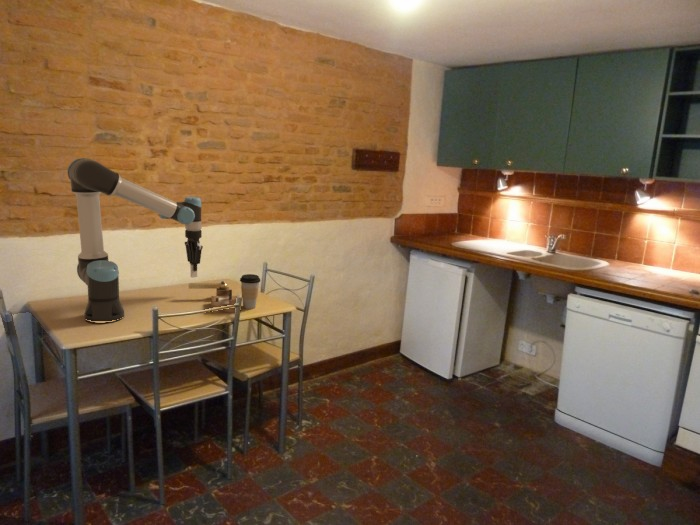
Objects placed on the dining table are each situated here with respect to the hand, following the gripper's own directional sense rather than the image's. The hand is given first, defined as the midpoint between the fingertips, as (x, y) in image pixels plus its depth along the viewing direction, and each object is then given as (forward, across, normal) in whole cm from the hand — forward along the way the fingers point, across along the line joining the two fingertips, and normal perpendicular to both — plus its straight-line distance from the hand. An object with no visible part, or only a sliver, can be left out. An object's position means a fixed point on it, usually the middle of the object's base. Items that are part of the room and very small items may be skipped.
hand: (193, 276), depth 250 cm
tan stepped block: (+9, +25, +2) cm, 26 cm away
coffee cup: (+10, +30, +12) cm, 34 cm away
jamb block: (+10, +12, +8) cm, 18 cm away
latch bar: (+4, +9, +3) cm, 10 cm away
